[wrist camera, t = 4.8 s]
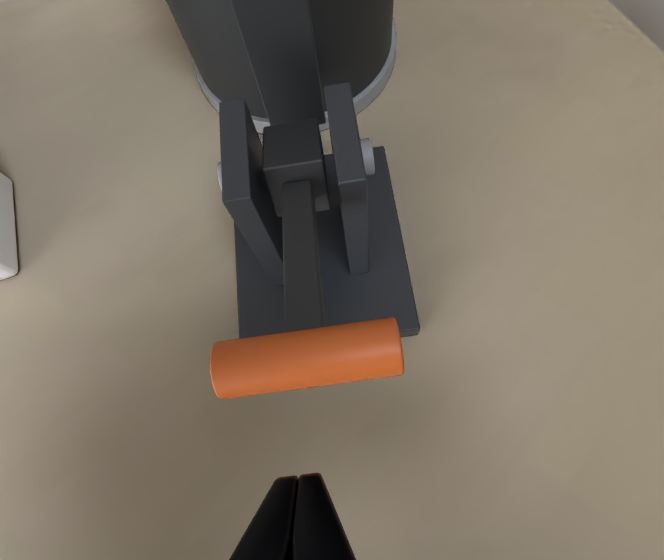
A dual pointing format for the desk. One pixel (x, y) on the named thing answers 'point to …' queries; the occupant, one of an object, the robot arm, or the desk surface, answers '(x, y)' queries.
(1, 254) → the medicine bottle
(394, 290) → the switch base
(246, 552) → the robot arm
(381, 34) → the kettle
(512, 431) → the desk surface
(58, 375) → the desk surface
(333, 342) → the switch lever
